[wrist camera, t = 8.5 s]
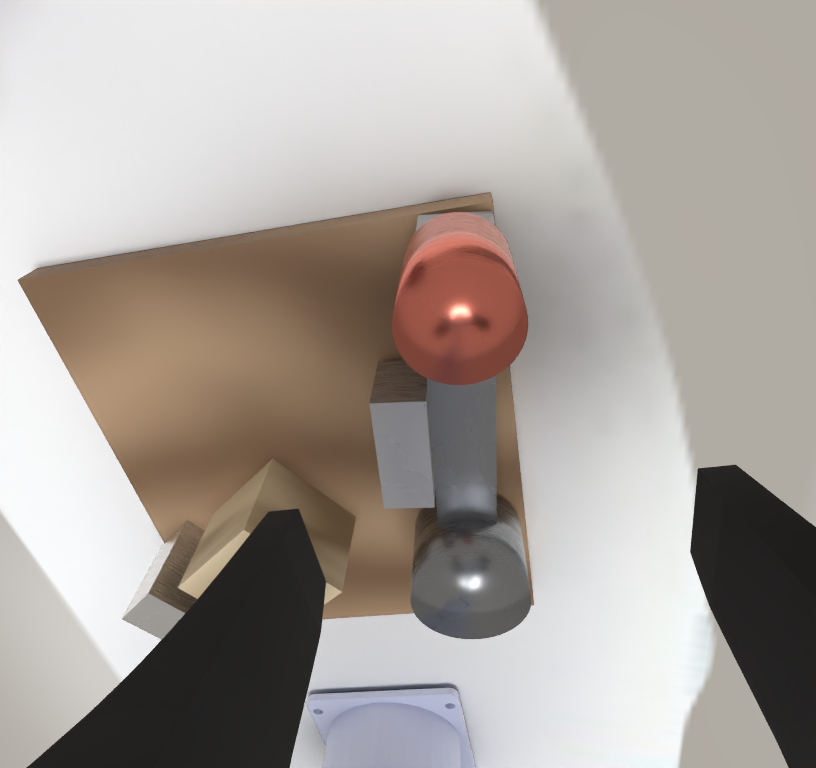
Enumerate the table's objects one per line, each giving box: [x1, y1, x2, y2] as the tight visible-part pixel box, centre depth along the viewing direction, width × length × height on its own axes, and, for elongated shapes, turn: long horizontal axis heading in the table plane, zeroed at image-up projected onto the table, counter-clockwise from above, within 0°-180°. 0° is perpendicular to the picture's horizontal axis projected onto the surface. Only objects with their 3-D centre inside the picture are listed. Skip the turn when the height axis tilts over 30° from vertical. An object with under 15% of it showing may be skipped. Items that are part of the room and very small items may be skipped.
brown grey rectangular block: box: [122, 520, 205, 639], centre depth 23 cm, size 5×2×4 cm, turn 48°
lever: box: [369, 210, 531, 639], centre depth 17 cm, size 14×5×5 cm, turn 5°
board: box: [18, 193, 534, 619], centre depth 22 cm, size 17×15×1 cm
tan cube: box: [178, 459, 356, 605], centre depth 21 cm, size 4×4×4 cm
